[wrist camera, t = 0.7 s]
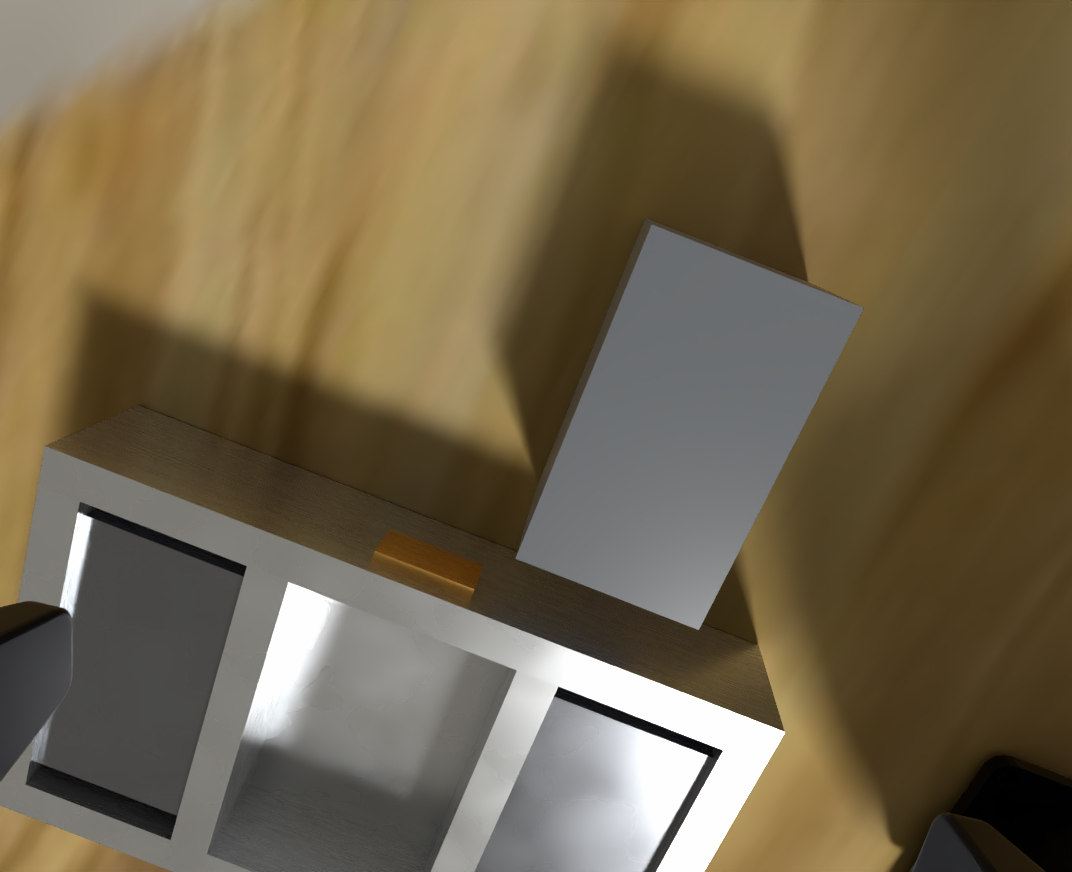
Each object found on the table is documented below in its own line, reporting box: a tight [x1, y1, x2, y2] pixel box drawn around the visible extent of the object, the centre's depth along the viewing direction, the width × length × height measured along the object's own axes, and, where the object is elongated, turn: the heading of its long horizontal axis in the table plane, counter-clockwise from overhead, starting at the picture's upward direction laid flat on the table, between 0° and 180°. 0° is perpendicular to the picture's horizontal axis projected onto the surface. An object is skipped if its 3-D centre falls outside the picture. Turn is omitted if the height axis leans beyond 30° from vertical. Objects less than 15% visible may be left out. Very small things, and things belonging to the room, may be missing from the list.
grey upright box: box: [515, 218, 864, 630], centre depth 17 cm, size 4×7×4 cm, turn 159°
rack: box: [0, 405, 785, 872], centre depth 20 cm, size 18×11×4 cm, turn 69°
